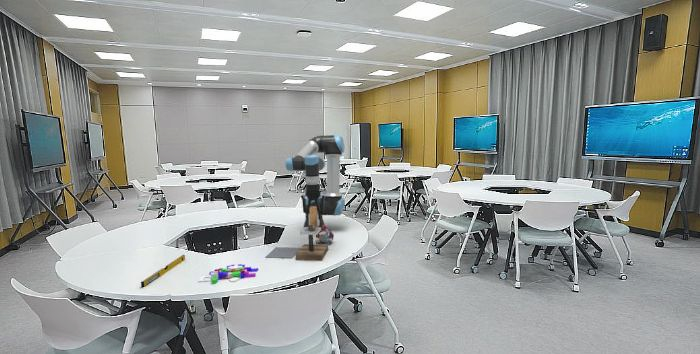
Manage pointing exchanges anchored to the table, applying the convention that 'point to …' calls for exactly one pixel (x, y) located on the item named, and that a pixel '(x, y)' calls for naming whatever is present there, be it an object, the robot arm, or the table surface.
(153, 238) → the table surface
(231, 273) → the building block set
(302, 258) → the wooden peg stand
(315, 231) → the square frame with handle
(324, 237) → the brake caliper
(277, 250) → the rubber mat
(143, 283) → the spirit level
